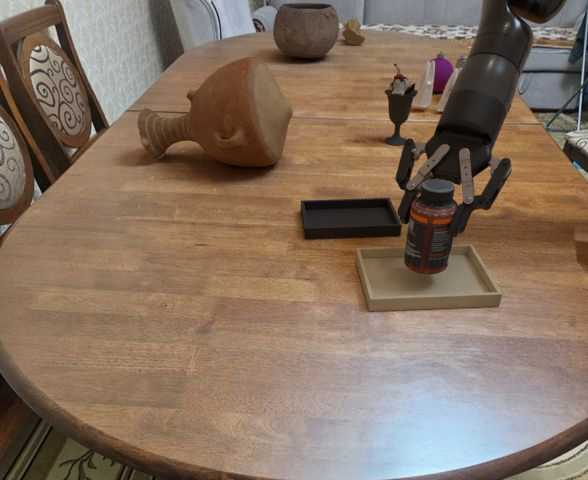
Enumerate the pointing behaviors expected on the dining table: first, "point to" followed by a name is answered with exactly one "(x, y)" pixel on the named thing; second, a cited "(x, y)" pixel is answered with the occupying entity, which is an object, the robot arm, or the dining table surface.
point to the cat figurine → (353, 32)
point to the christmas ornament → (441, 72)
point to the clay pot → (306, 29)
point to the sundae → (399, 105)
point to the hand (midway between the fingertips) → (427, 228)
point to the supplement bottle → (430, 228)
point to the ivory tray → (425, 281)
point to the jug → (227, 117)
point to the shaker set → (431, 88)
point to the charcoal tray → (349, 218)
